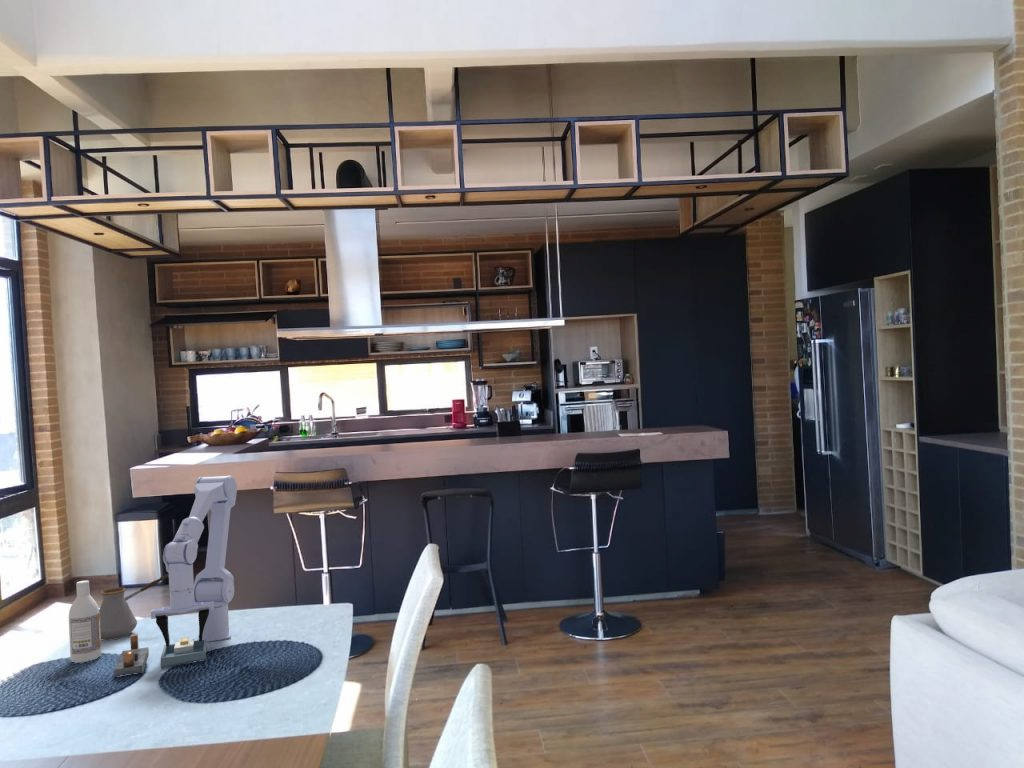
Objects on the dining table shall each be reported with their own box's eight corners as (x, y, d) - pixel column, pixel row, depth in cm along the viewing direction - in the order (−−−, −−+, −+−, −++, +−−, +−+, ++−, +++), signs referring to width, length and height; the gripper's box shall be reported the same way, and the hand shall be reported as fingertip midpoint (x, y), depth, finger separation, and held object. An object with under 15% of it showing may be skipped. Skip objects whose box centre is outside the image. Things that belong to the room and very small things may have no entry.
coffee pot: (94, 645, 209) (92, 590, 210) (89, 635, 219) (87, 583, 219) (178, 628, 222) (175, 576, 222) (170, 620, 231) (167, 570, 231)
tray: (164, 654, 198) (164, 645, 198) (207, 648, 201) (206, 639, 202) (161, 668, 187) (160, 658, 187) (205, 661, 191) (205, 651, 191)
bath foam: (104, 659, 197) (100, 581, 197) (73, 666, 192) (69, 586, 193) (98, 653, 202) (95, 577, 203) (68, 659, 198) (65, 582, 198)
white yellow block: (176, 653, 197) (175, 638, 197) (194, 650, 198) (194, 636, 198) (174, 660, 191) (173, 645, 191) (193, 657, 192) (192, 642, 192)
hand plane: (122, 658, 196) (121, 635, 196) (148, 654, 198) (147, 631, 198) (114, 678, 182) (113, 652, 182) (142, 673, 184) (141, 648, 184)
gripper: (148, 596, 188) (151, 652, 188) (212, 588, 194) (214, 642, 193) (151, 590, 195) (154, 643, 195) (212, 582, 200) (215, 634, 200)
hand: (184, 642), depth 195 cm, fingers open, 7 cm apart
